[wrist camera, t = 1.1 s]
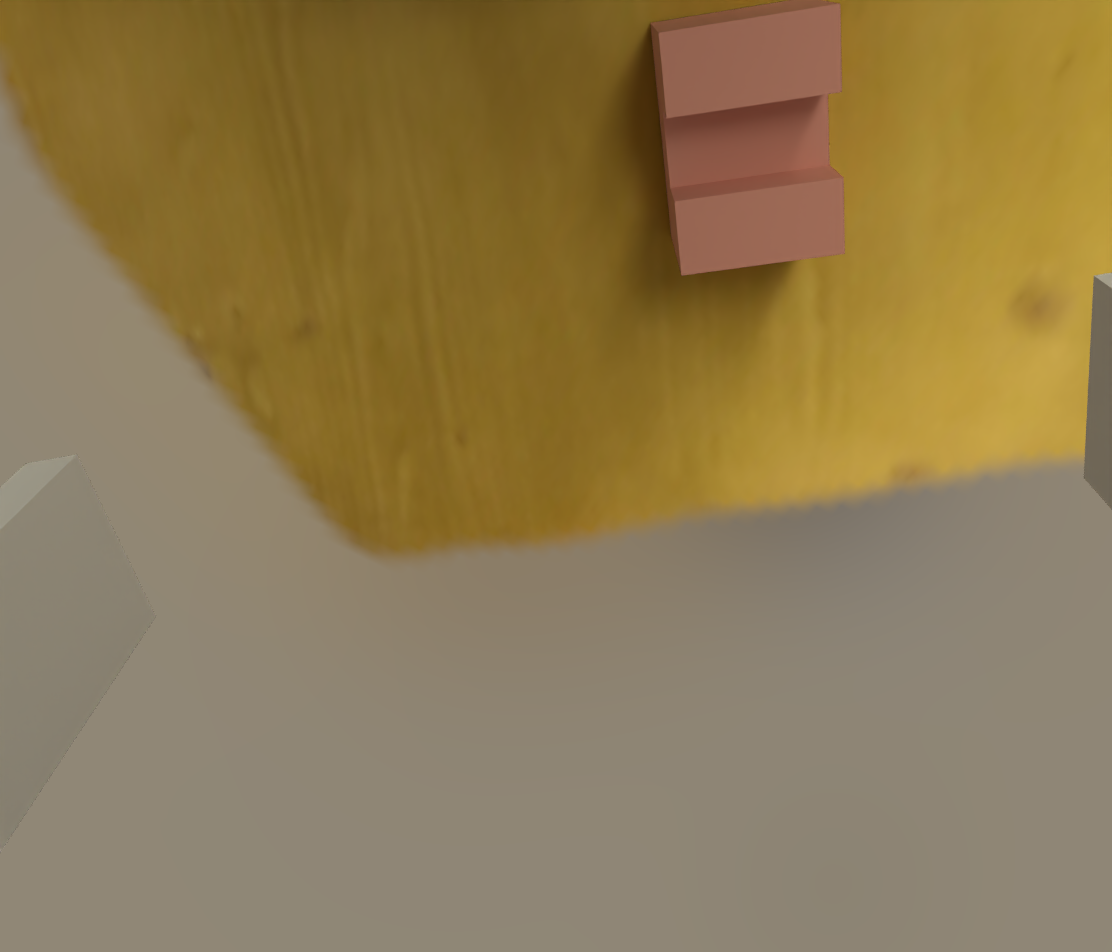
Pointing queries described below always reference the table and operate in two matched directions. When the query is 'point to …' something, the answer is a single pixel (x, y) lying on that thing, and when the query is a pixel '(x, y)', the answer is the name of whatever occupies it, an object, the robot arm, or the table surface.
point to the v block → (750, 134)
